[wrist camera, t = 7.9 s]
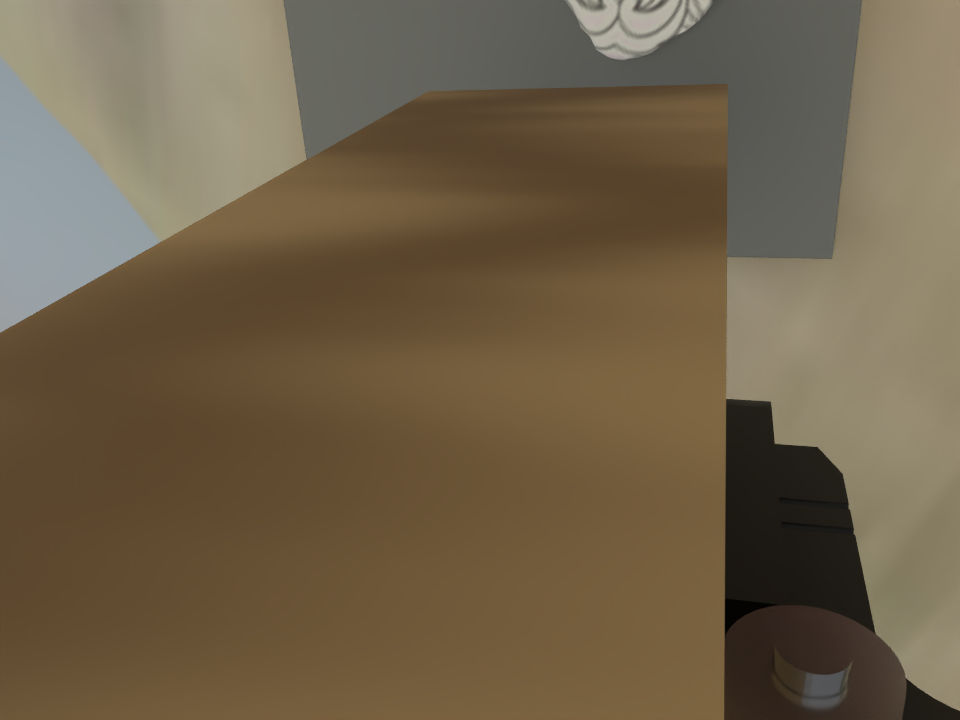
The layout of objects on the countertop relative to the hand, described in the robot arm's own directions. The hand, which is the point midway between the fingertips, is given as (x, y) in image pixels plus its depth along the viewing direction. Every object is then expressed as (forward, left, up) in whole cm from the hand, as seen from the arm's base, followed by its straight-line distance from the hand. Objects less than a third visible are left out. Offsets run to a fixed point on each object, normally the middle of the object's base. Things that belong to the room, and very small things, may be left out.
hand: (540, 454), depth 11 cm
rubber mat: (0, +4, -22) cm, 23 cm away
